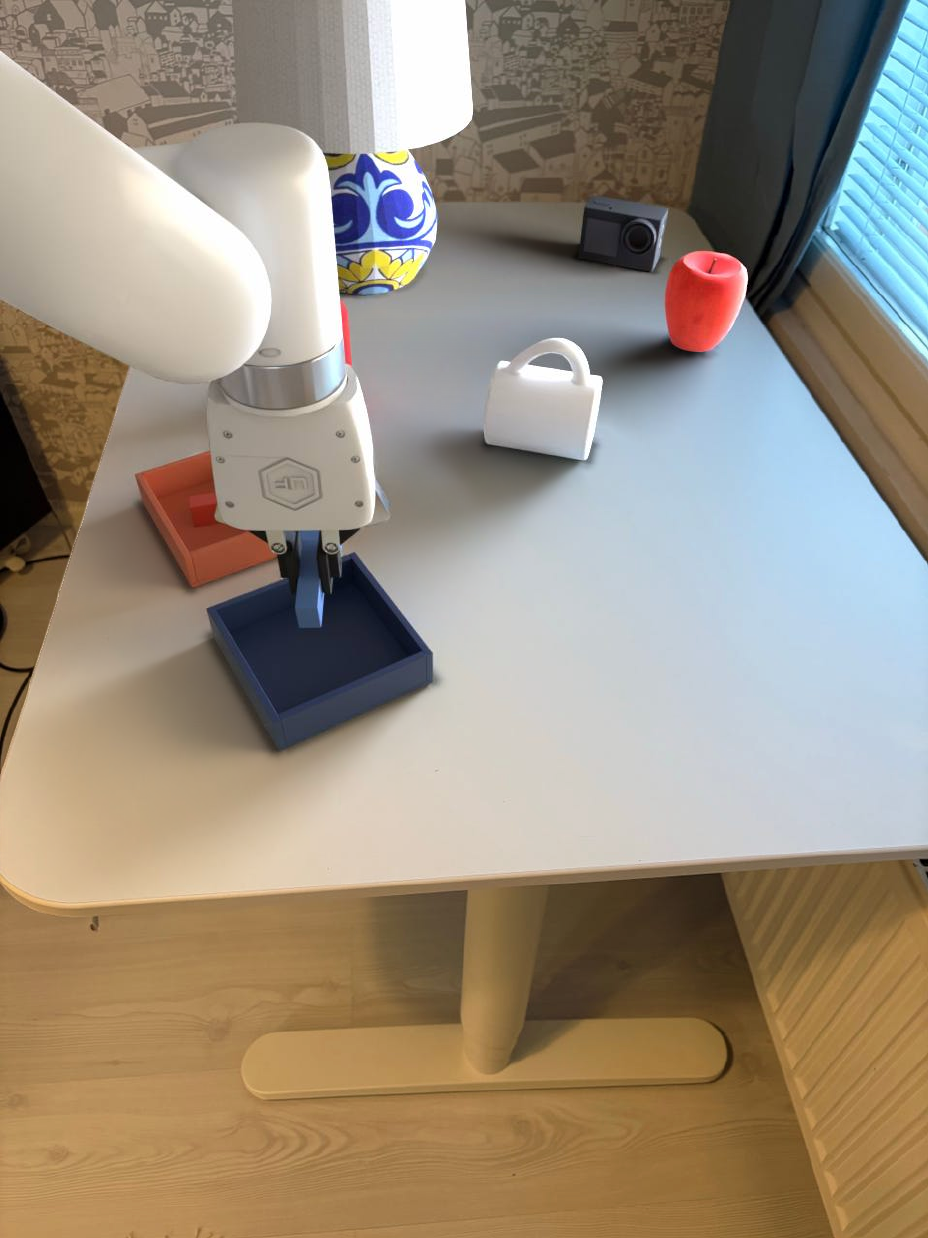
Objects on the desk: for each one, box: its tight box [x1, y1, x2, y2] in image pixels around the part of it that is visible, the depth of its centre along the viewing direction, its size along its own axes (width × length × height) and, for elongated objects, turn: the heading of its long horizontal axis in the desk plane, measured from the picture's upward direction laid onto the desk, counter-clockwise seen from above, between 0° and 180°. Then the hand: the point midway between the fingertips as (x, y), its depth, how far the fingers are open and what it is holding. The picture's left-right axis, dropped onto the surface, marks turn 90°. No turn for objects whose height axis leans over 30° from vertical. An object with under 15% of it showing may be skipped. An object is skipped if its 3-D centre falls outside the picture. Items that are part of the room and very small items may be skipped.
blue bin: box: [205, 551, 434, 752], centre depth 72 cm, size 13×13×4 cm
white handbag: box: [483, 337, 603, 461], centre depth 90 cm, size 8×10×12 cm
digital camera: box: [578, 194, 669, 273], centre depth 121 cm, size 10×5×7 cm, turn 70°
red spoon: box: [189, 493, 221, 527], centre depth 84 cm, size 10×4×2 cm, turn 107°
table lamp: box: [231, 0, 474, 296], centre depth 105 cm, size 27×27×40 cm
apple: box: [664, 250, 749, 353], centre depth 104 cm, size 9×9×11 cm
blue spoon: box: [295, 530, 343, 628], centre depth 67 cm, size 10×4×2 cm, turn 2°
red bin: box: [134, 450, 277, 589], centre depth 84 cm, size 13×13×4 cm
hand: (313, 580), depth 67 cm, fingers closed on blue spoon, 1 cm apart
